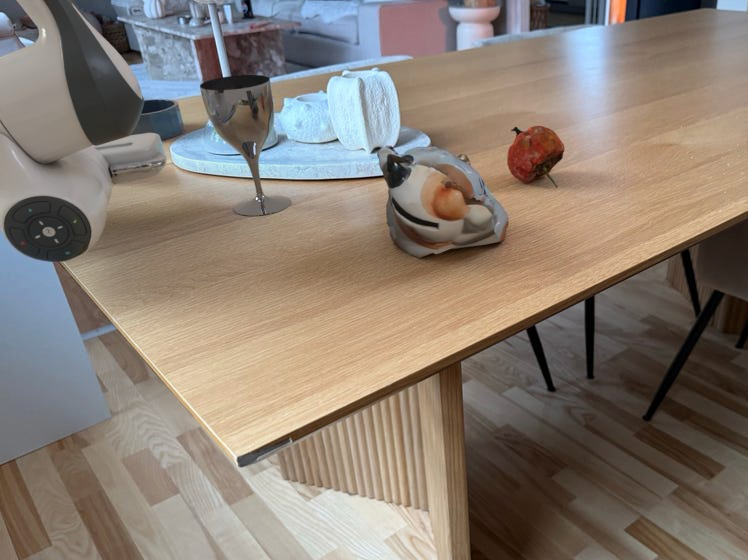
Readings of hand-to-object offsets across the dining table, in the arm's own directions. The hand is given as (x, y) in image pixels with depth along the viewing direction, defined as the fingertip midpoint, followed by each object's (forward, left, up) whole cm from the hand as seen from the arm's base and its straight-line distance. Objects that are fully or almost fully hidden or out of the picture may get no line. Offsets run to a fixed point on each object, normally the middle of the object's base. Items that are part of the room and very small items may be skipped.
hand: (79, 147), depth 88 cm
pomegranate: (+55, -18, -8) cm, 58 cm away
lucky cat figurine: (+38, -32, -8) cm, 51 cm away
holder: (+6, +34, -8) cm, 35 cm away
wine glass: (+20, -10, -8) cm, 24 cm away
